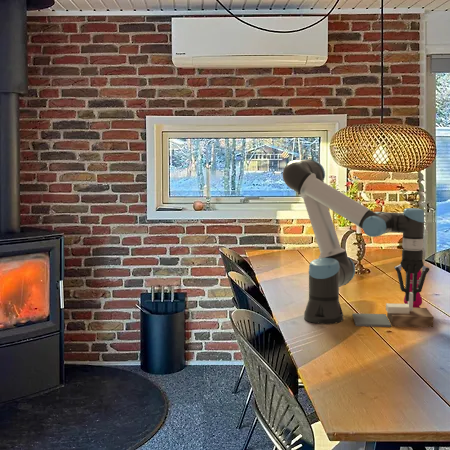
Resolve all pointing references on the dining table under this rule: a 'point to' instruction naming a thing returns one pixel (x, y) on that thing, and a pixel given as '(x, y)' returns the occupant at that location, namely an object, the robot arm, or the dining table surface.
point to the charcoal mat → (371, 320)
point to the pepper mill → (418, 296)
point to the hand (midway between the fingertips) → (410, 309)
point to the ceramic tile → (397, 308)
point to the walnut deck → (412, 318)
